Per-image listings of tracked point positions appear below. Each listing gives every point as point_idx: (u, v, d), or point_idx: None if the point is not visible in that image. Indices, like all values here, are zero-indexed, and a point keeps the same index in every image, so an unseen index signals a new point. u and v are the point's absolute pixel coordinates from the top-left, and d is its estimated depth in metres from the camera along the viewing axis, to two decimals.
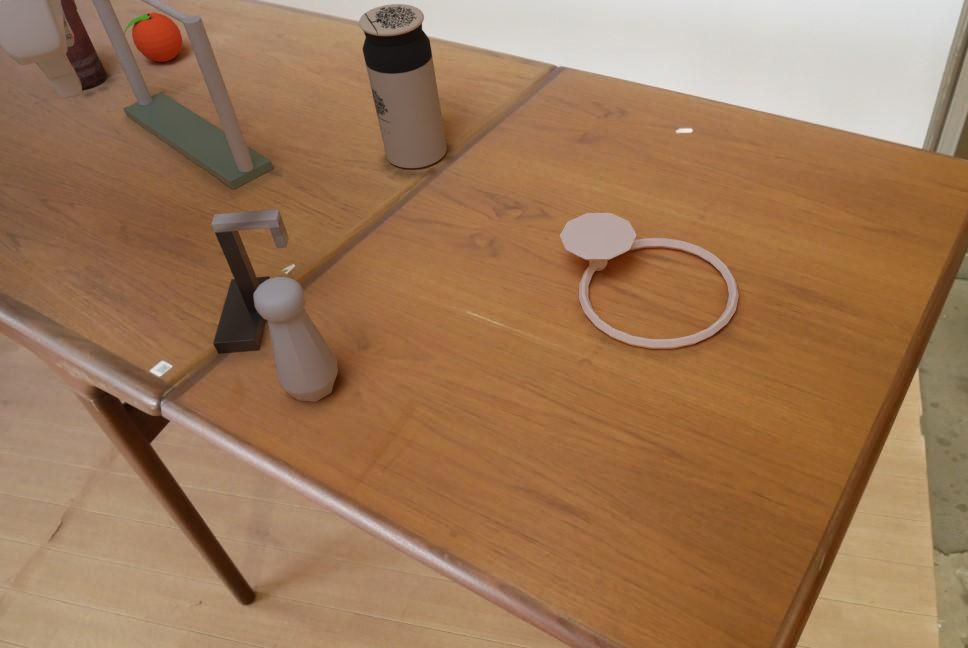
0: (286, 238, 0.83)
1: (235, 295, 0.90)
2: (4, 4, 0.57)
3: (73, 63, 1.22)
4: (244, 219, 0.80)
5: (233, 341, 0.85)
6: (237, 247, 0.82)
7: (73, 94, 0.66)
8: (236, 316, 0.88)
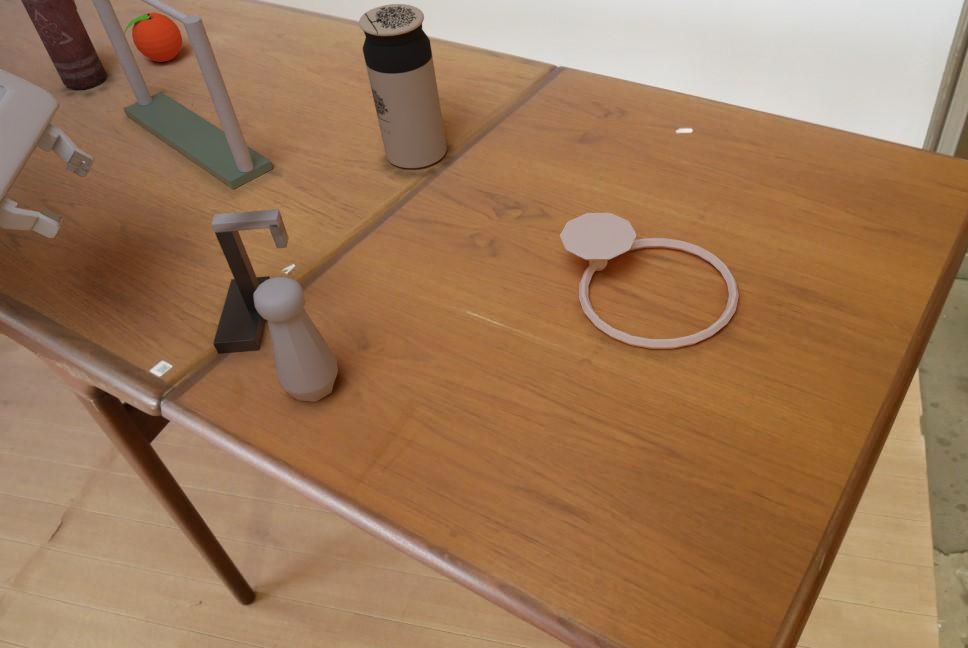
0: (286, 238, 0.83)
1: (235, 295, 0.90)
2: None
3: (73, 63, 1.22)
4: (244, 219, 0.80)
5: (233, 341, 0.85)
6: (237, 247, 0.82)
7: (55, 232, 0.74)
8: (236, 316, 0.88)
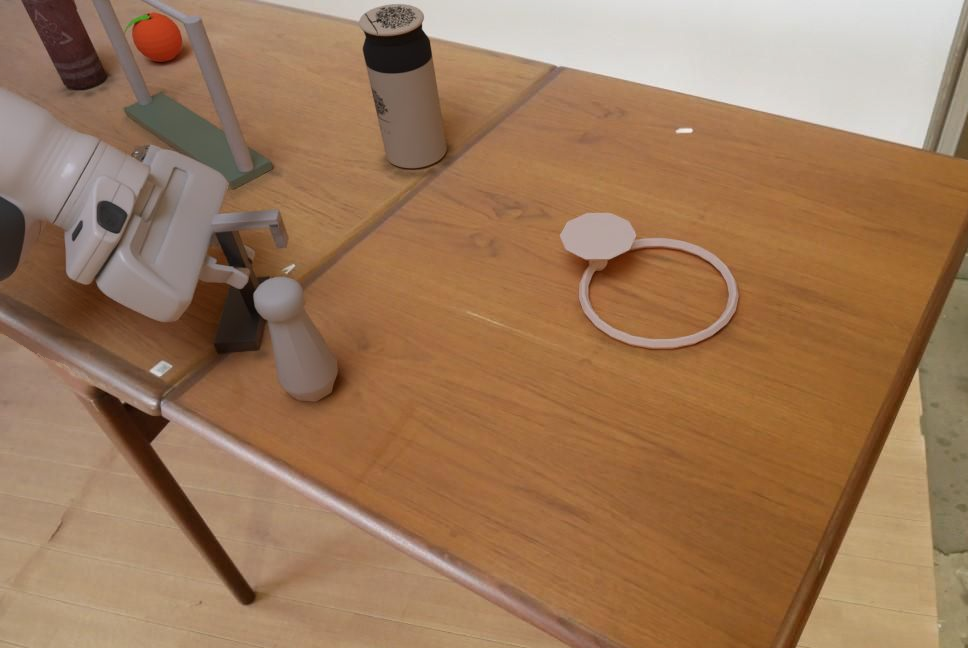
0: (286, 238, 0.83)
1: (235, 295, 0.90)
2: (132, 296, 0.74)
3: (73, 63, 1.22)
4: (244, 219, 0.80)
5: (233, 341, 0.85)
6: (237, 247, 0.82)
7: (244, 283, 0.84)
8: (236, 316, 0.88)
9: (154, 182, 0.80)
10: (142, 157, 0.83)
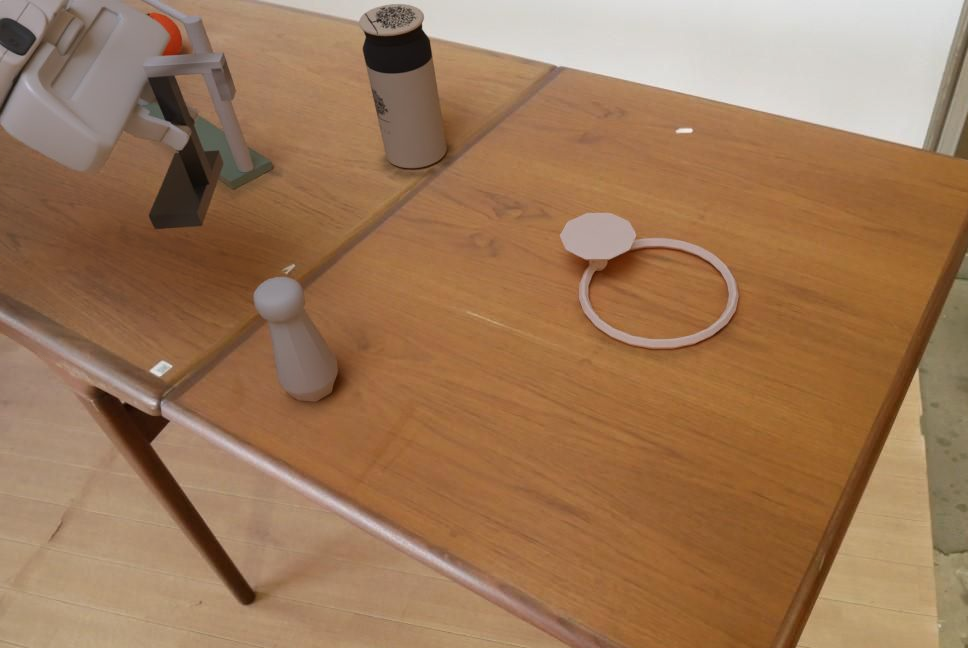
0: (233, 89, 0.71)
1: (178, 168, 0.78)
2: (41, 136, 0.62)
3: None
4: (181, 61, 0.68)
5: (172, 214, 0.74)
6: (175, 98, 0.70)
7: (184, 143, 0.72)
8: (177, 189, 0.76)
9: (76, 17, 0.69)
10: None
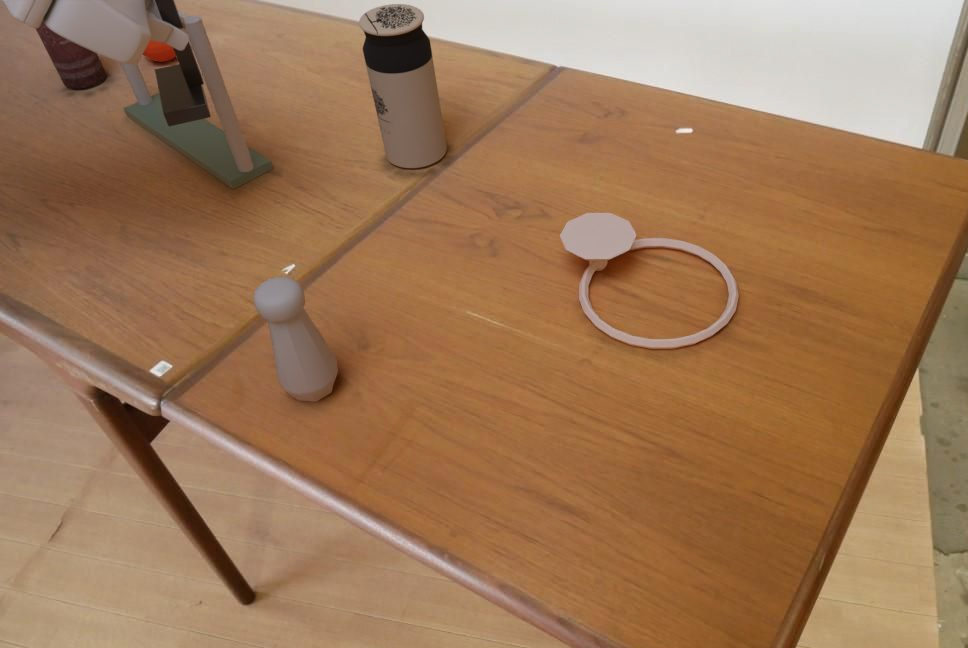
0: None
1: (166, 78, 0.89)
2: (91, 31, 0.72)
3: (73, 63, 1.22)
4: None
5: (184, 108, 0.84)
6: (173, 2, 0.81)
7: (185, 43, 0.83)
8: (176, 91, 0.87)
9: None
10: None
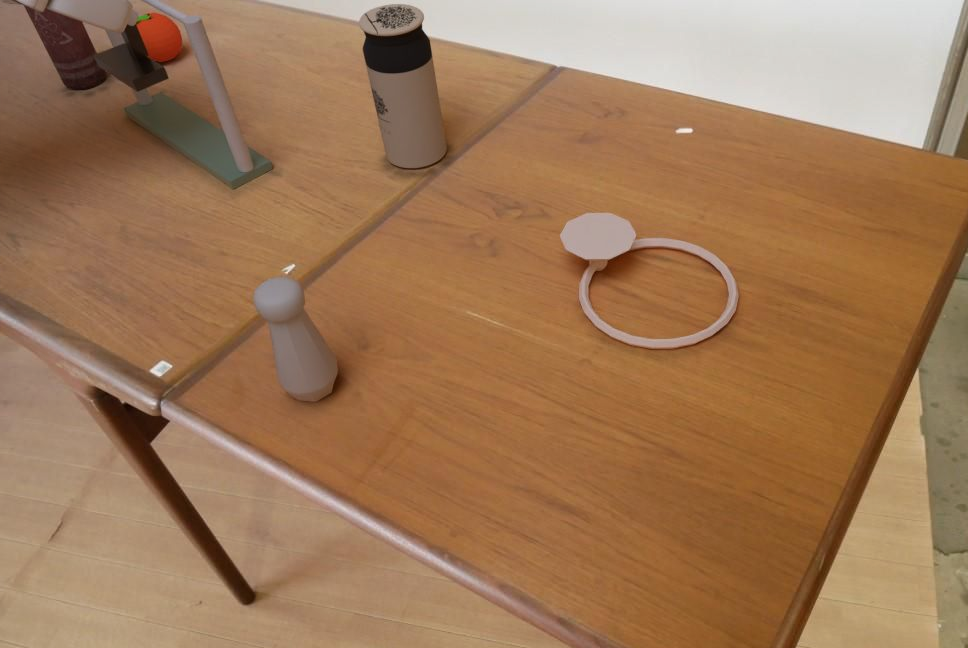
0: None
1: (111, 59, 1.03)
2: (90, 6, 0.88)
3: (73, 63, 1.22)
4: None
5: (148, 73, 1.00)
6: None
7: (136, 18, 0.99)
8: (129, 65, 1.02)
9: None
10: None
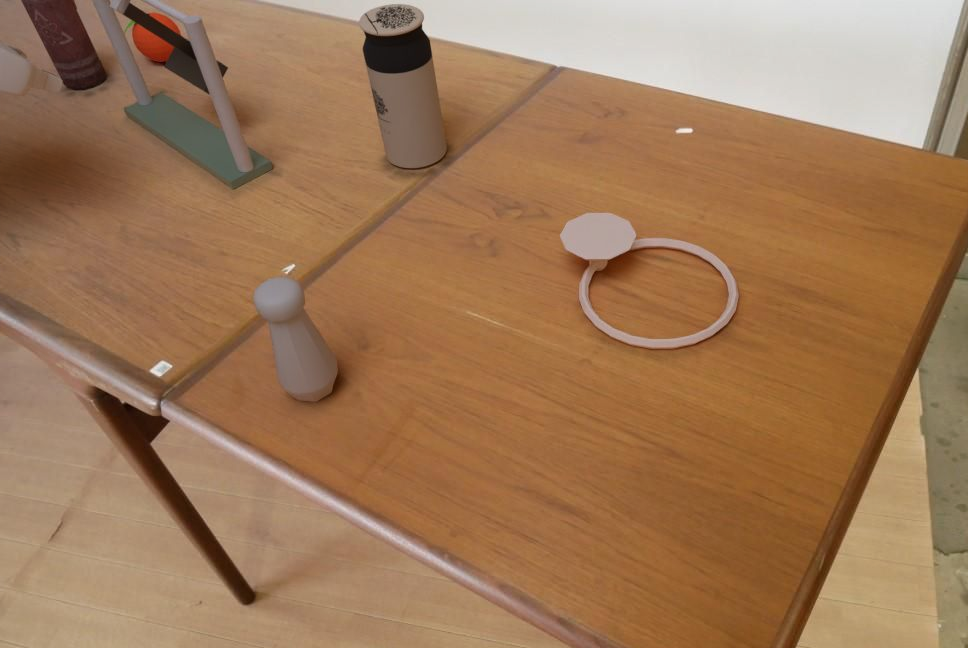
0: None
1: (178, 66, 1.10)
2: None
3: (73, 63, 1.22)
4: None
5: None
6: (144, 12, 1.01)
7: (60, 85, 0.94)
8: (193, 70, 1.08)
9: None
10: None
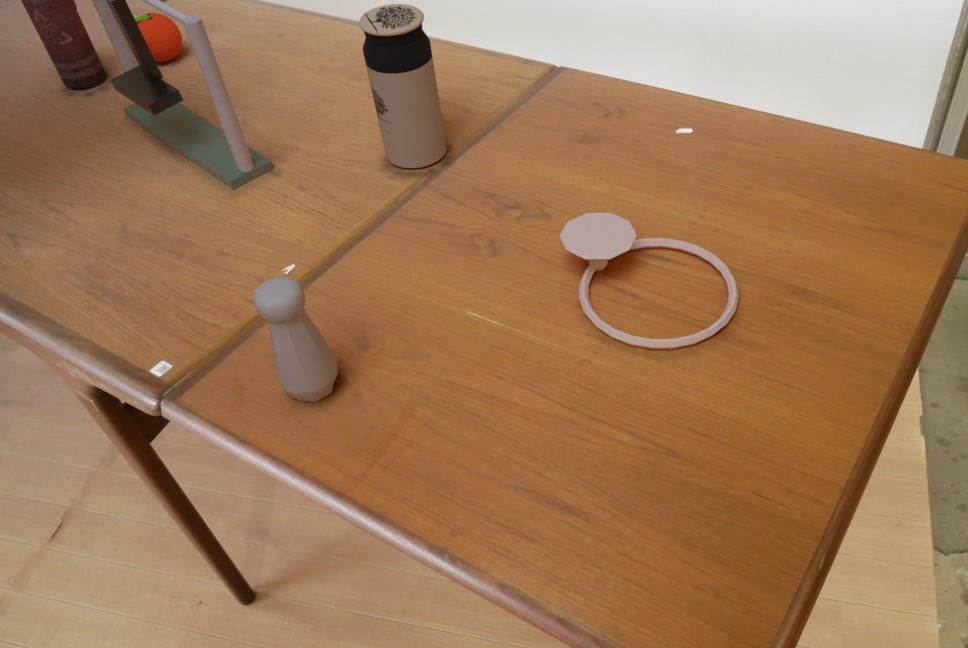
0: None
1: (127, 83, 1.06)
2: None
3: (73, 63, 1.22)
4: None
5: (163, 97, 1.03)
6: (131, 12, 1.00)
7: None
8: (144, 89, 1.05)
9: None
10: None
